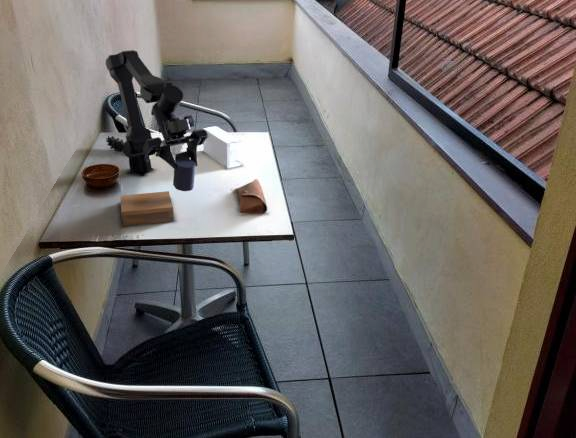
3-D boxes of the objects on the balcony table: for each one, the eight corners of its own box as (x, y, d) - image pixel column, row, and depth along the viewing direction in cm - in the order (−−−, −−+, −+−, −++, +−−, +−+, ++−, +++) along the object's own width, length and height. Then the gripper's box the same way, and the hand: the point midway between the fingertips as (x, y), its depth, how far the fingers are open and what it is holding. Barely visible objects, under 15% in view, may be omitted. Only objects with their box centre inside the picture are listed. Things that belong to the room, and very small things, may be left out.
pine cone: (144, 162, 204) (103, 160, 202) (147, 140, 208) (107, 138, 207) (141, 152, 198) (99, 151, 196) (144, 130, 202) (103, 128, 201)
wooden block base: (121, 203, 165) (119, 189, 163) (168, 199, 169) (167, 185, 167) (123, 226, 152) (121, 212, 150) (173, 221, 156) (172, 207, 154)
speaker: (168, 182, 163) (170, 150, 157) (187, 180, 165) (189, 149, 160) (177, 194, 157) (179, 162, 152) (196, 192, 160) (198, 160, 155)
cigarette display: (241, 165, 195) (241, 140, 190) (227, 168, 192) (227, 143, 187) (215, 148, 209) (214, 125, 205) (201, 151, 206) (200, 127, 202)
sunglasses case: (233, 188, 176) (243, 171, 174) (251, 197, 179) (262, 180, 177) (239, 213, 160) (250, 195, 158) (259, 223, 163) (271, 205, 161)
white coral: (171, 156, 200) (170, 141, 197) (164, 149, 206) (163, 134, 203) (188, 154, 203) (188, 138, 200) (181, 147, 209) (180, 132, 206)
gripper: (143, 111, 148) (164, 162, 145) (204, 102, 158) (224, 149, 155) (134, 131, 157) (154, 179, 154) (192, 120, 167) (211, 166, 165)
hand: (186, 168), depth 157 cm, fingers closed on speaker, 6 cm apart
